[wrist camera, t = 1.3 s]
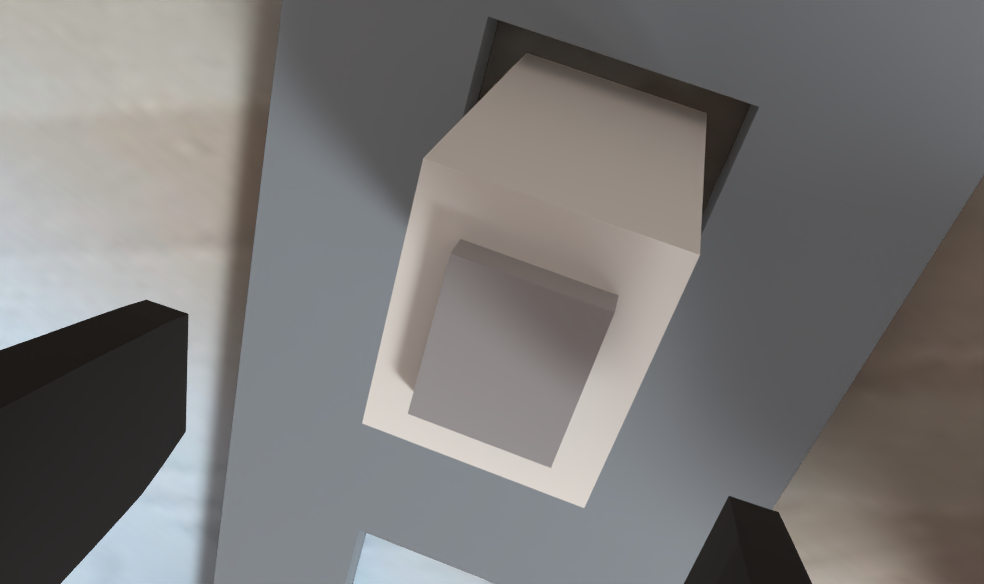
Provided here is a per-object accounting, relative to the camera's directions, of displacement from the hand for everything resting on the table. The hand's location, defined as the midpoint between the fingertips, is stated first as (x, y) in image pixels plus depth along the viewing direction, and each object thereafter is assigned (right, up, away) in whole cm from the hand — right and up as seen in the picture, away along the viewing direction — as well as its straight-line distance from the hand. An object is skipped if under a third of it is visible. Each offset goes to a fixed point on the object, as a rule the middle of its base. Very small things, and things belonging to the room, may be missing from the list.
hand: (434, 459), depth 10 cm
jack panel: (+1, -2, +12) cm, 12 cm away
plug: (+3, +5, +8) cm, 10 cm away
